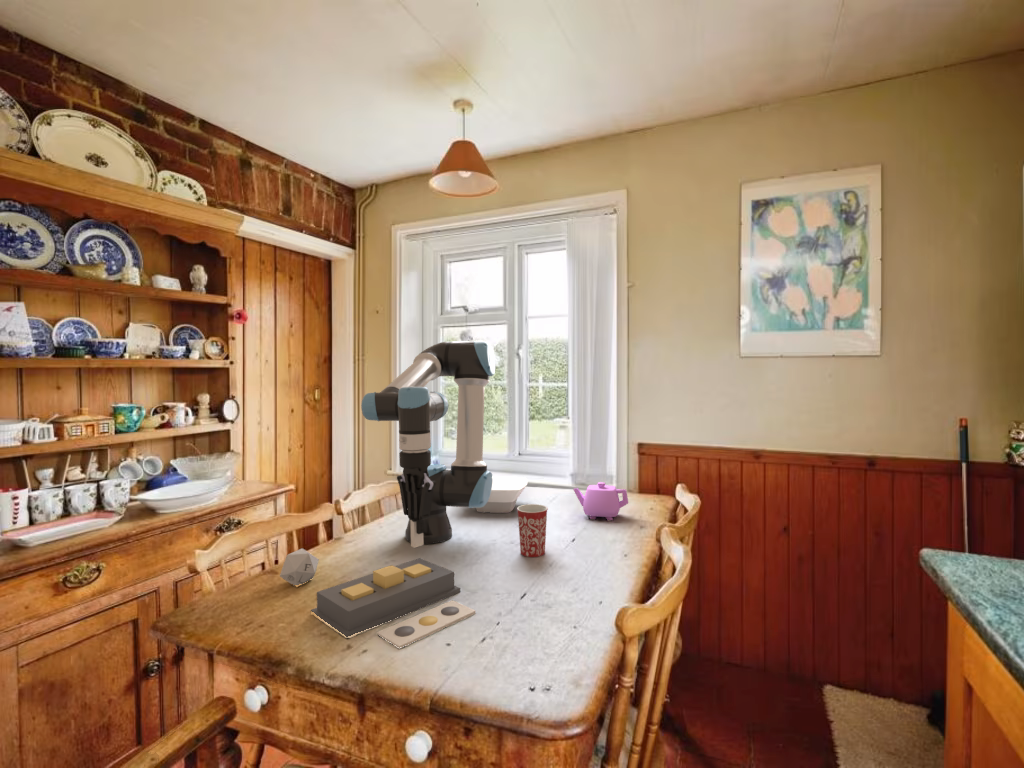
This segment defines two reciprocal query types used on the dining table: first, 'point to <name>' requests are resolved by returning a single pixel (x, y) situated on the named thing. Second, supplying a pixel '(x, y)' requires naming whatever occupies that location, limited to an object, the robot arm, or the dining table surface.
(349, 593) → the button
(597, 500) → the teapot
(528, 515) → the mug
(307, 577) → the die
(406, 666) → the dining table surface
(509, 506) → the bowl
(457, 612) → the card
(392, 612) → the board
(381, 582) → the button
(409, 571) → the button
